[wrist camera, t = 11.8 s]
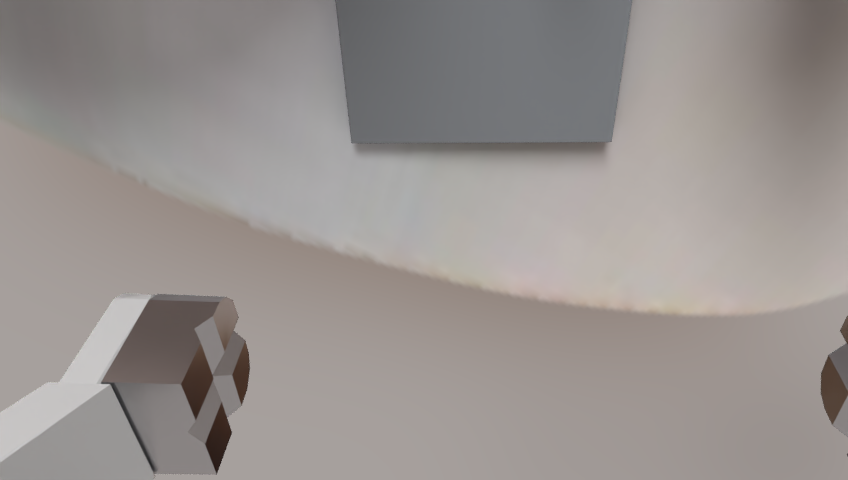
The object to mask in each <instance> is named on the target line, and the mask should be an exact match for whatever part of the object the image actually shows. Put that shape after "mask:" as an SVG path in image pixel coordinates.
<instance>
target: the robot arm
mask: <svg viewBox="0 0 848 480" xmlns="http://www.w3.org/2000/svg"><path fill="white" fill-rule="evenodd" d="M238 318H239V317H238V314H237V311H236V308H235V305H234V302H233V300H231V299H229V298H227V297H218V296H195V295H173V294H157V295H152V294H132V293H123V294H121V295H119V296H118V297H116V298H114V299H113V300H112V302H111V303H110V305H109V306H108V308H107V309H106V311H105V312H104V314H103V316H102V317H101V319H100V320H99V322H98V323H97V325H96V326H95V328H94V329H93V331H92V332H91V334H90V335H89V337H88V338H87V340H86V341H85V343H84V345H83V346H82V348H81V349H80V351H79V352H78V354H77V355H76V357H75V358H74V360H73V361H72V363H71V364H70V366H69V368H68V369H67V370H66V372H65V374H64V375H63V377H62V378H61V380H60V381H59V382H47V383H46V384H45V385H43V386H41V387H40V388H38V389H36V390H35V391H33V392H32V393H30V394H29V395H27V396H25V397H24V398H22V399H21V400H19V401H18V402H16V403H14V404H13V405H11V406H10V407H8V408H7V409H5V410H4V411H2V412H0V480H153V479H154V478H155V475H154V474H215V475H217V472H218V470H219V467H220V464H221V461H222V459H223V456H224V453H225V450H226V447H227V445H228V442H229V439H230V437H231V434H232V431H231V428H230V425H229V422H228V419H227V417H229V416H230V415H231V414H232V413H233V412H235V411H236V410H237V409H238V408H239V407H241V406H242V403H243V400H244V397H245V394H246V391H247V387H248V379H249V371H250V363H249V352H248V349H247V345H246V341H245V340H244V339H243V338H242V337H241V336H239V335H238V334H237V333H236V332H235V331H233V330H234V328H235V325H236V323H237V320H238ZM840 331H841V333H842V335H843V337H844V339H845V341H846V342H847V343H846V344H845V345H843V346H841V347H840V348H838V349H837V350H835V351H834V352H832V353H831V354H829V355H828V358H827V360H826V362H825V365H824V367H823V370H822V373H821V396H822V400H823V404H824V408H825V410H826V413H827V415H828V417H829V419H830V421H831V423H832V425H833V426H834V427H836V428H837V429H838V430H839V431H841V432H842V433H843V434H844V435H846V436H847V437H848V316H847V317H846V319H845V322H844V324H843V326H842V328H841V330H840ZM847 456H848V454H847Z"/></svg>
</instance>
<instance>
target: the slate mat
mask: <svg viewBox="0 0 848 480" xmlns="http://www.w3.org/2000/svg"><path fill="white" fill-rule="evenodd" d="M335 1H336V9H337V18H338V27H339V36H340V45H341V54H342V63H343V72H344V80H345V89H346V98H347V107H348V116H349V125H350V134H351V143H516V142H612V135H613V128H614V121H615V115H616V108H617V101H618V94H619V87H620V80H621V73H622V67H623V60H624V53H625V46H626V39H627V32H628V26H629V19H630V12H631V5H632V0H335Z"/></svg>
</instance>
